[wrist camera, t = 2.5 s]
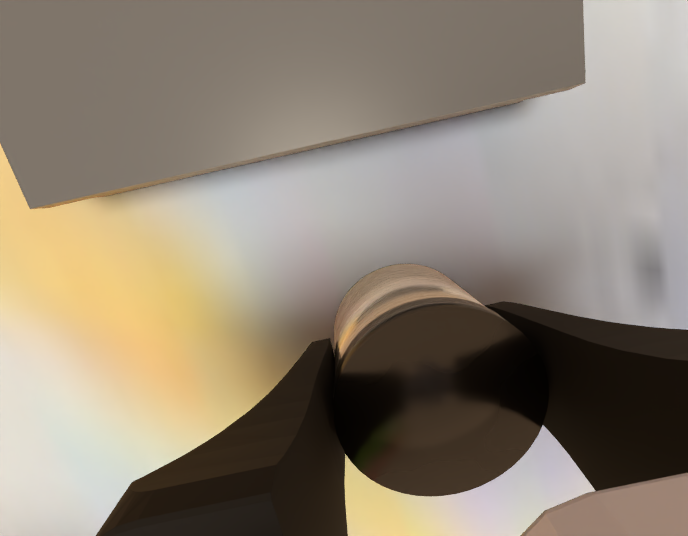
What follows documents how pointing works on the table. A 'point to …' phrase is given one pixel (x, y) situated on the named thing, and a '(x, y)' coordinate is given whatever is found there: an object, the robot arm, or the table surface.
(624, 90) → the table surface
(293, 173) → the table surface
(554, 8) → the grey flat block
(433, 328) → the tea tin
